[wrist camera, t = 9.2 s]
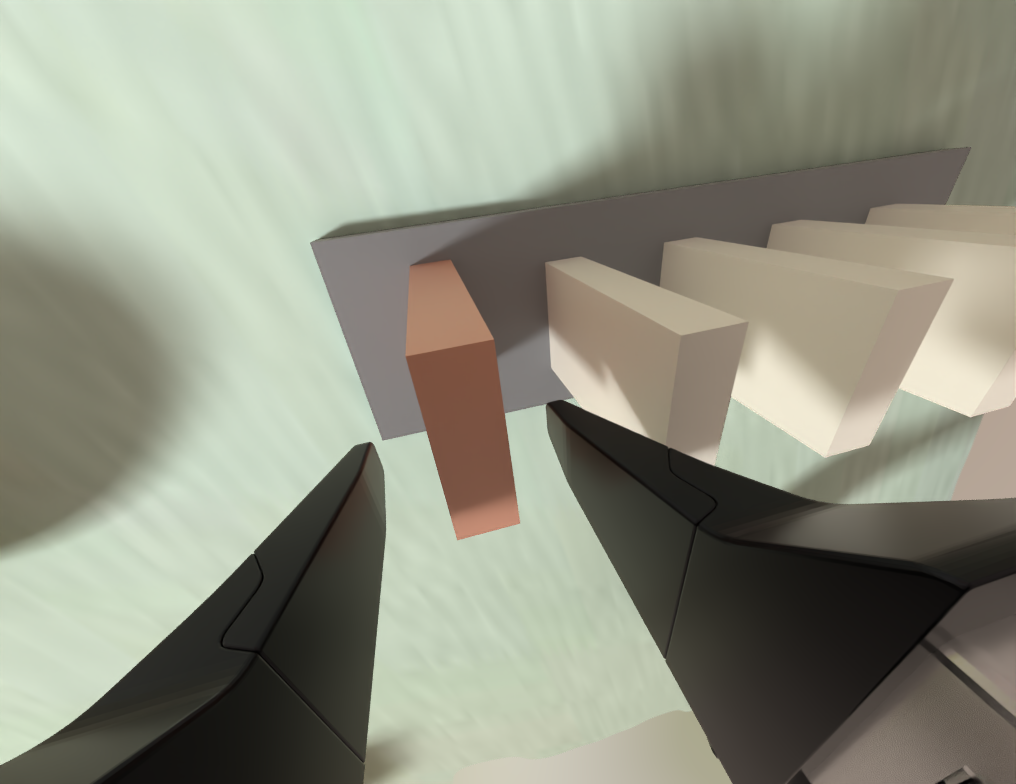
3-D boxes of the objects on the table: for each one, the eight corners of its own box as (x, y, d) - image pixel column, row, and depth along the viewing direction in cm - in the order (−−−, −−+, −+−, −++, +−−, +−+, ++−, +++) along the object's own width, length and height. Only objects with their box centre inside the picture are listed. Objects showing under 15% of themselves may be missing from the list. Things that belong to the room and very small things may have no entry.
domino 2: (681, 340, 19) (869, 445, 11) (653, 346, 18) (824, 457, 11) (696, 237, 16) (954, 278, 8) (664, 242, 16) (898, 290, 8)
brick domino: (471, 371, 17) (519, 523, 9) (437, 378, 16) (457, 540, 9) (450, 259, 14) (493, 339, 7) (409, 265, 14) (405, 356, 6)
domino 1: (581, 361, 18) (708, 489, 10) (551, 368, 18) (657, 503, 10) (580, 256, 15) (749, 321, 8) (545, 262, 15) (681, 335, 7)
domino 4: (773, 321, 19) (1009, 406, 12) (747, 326, 19) (970, 417, 11) (801, 219, 17) (1125, 243, 9) (771, 224, 17) (1079, 253, 9)
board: (872, 321, 22) (890, 326, 22) (384, 428, 18) (382, 440, 17) (944, 149, 18) (971, 146, 17) (316, 239, 14) (310, 242, 13)
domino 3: (858, 303, 20) (1132, 372, 12) (834, 308, 20) (1097, 382, 12) (897, 203, 18) (1271, 212, 10) (870, 208, 17) (1230, 221, 10)
